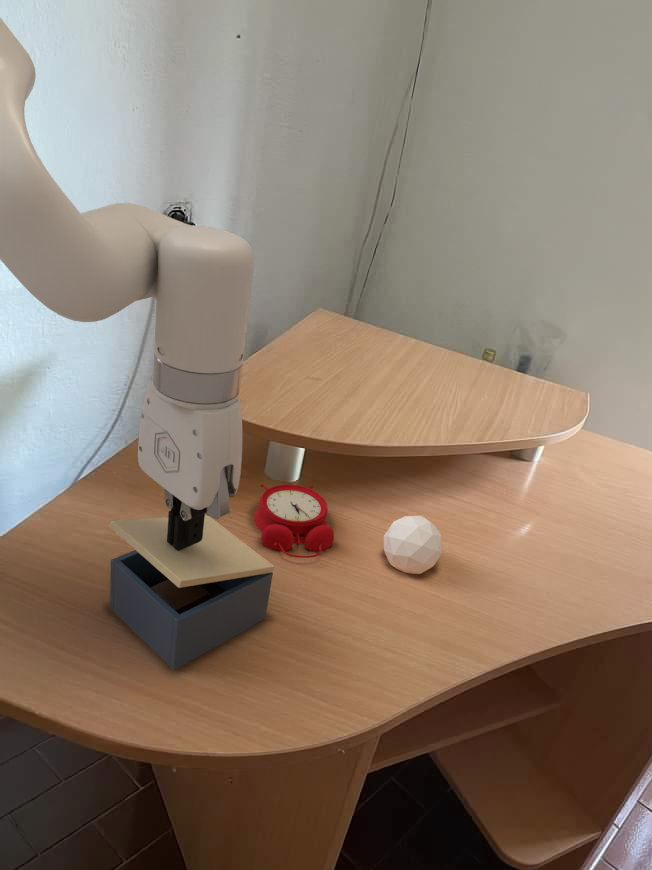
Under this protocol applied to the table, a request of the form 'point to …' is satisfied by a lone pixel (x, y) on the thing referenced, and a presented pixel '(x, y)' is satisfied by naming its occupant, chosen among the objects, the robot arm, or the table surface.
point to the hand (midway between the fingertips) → (184, 542)
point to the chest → (192, 629)
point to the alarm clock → (293, 519)
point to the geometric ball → (412, 544)
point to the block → (181, 595)
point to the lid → (192, 552)
